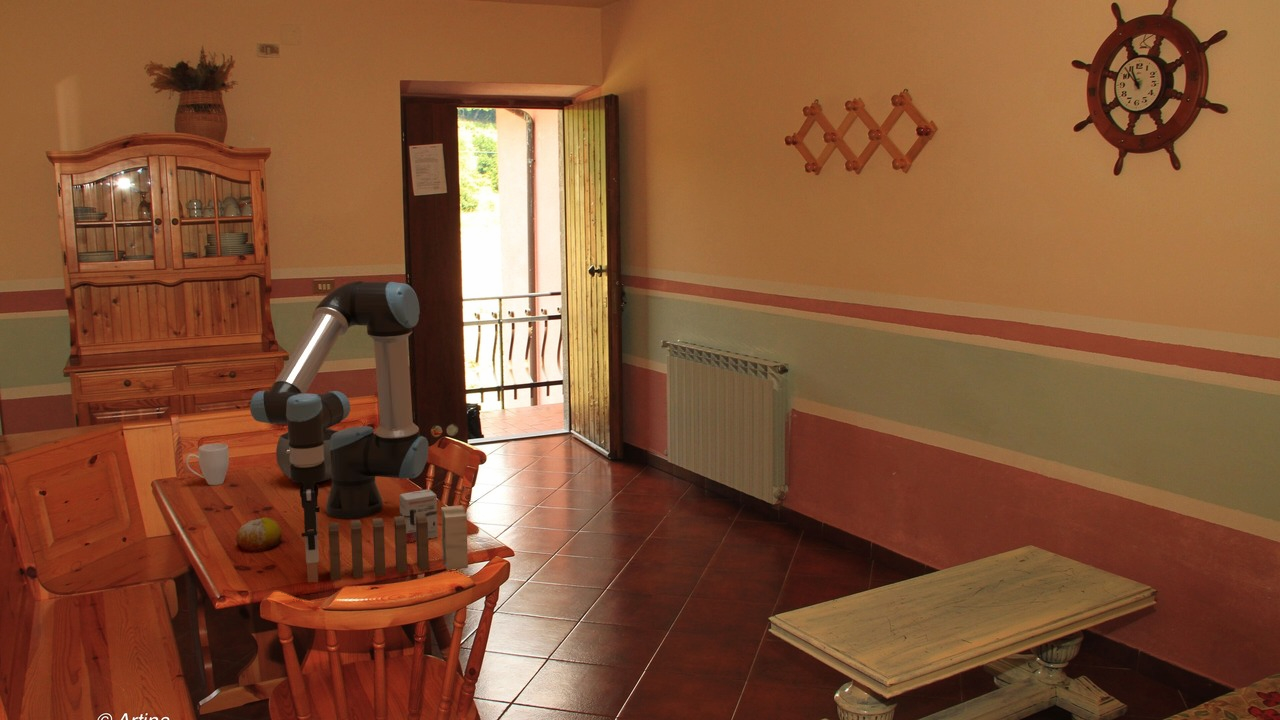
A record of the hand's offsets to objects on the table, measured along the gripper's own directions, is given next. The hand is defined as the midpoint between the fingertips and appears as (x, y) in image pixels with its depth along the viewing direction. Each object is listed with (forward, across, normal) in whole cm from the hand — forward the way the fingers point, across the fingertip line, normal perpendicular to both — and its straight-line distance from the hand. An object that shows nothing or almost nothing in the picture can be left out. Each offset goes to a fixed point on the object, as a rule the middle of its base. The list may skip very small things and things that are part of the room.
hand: (312, 551), depth 228 cm
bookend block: (+7, 0, +32) cm, 33 cm away
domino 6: (+7, 0, +25) cm, 26 cm away
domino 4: (+6, 0, +15) cm, 16 cm away
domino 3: (+6, 0, +10) cm, 12 cm away
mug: (+8, -84, -30) cm, 89 cm away
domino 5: (+7, 0, +20) cm, 21 cm away
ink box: (+7, -20, +26) cm, 33 cm away
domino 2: (+6, 0, +5) cm, 8 cm away
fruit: (+7, -26, -13) cm, 30 cm away
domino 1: (+6, 0, 0) cm, 6 cm away
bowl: (+8, -78, 0) cm, 79 cm away
